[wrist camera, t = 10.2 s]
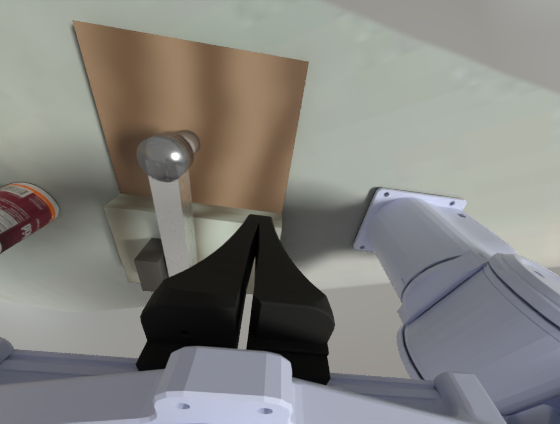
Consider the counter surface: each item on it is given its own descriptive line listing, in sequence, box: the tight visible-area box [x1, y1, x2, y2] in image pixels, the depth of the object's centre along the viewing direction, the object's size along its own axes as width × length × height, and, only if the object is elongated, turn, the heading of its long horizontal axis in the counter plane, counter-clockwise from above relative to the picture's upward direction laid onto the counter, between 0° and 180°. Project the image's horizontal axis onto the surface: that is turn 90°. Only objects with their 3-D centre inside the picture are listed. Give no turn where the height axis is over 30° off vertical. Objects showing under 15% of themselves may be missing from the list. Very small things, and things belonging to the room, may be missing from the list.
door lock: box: [72, 20, 309, 294], centre depth 19 cm, size 16×23×6 cm
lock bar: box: [137, 131, 198, 277], centre depth 18 cm, size 14×3×2 cm, turn 172°
